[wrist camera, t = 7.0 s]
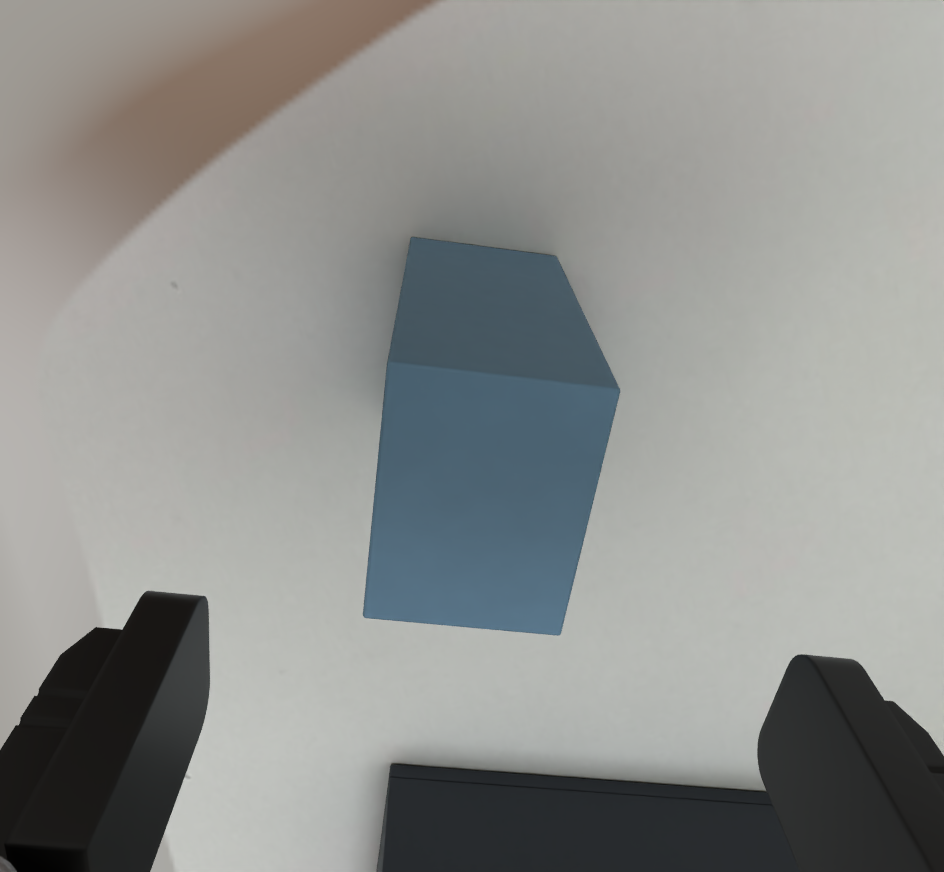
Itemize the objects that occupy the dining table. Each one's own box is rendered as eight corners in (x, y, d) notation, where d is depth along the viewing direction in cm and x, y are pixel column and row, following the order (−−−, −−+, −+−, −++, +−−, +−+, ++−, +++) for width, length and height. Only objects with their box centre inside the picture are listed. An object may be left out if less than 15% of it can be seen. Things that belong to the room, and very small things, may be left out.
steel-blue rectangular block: (392, 419, 24) (362, 619, 16) (410, 236, 21) (387, 361, 13) (523, 434, 24) (560, 636, 16) (557, 255, 21) (621, 389, 13)
